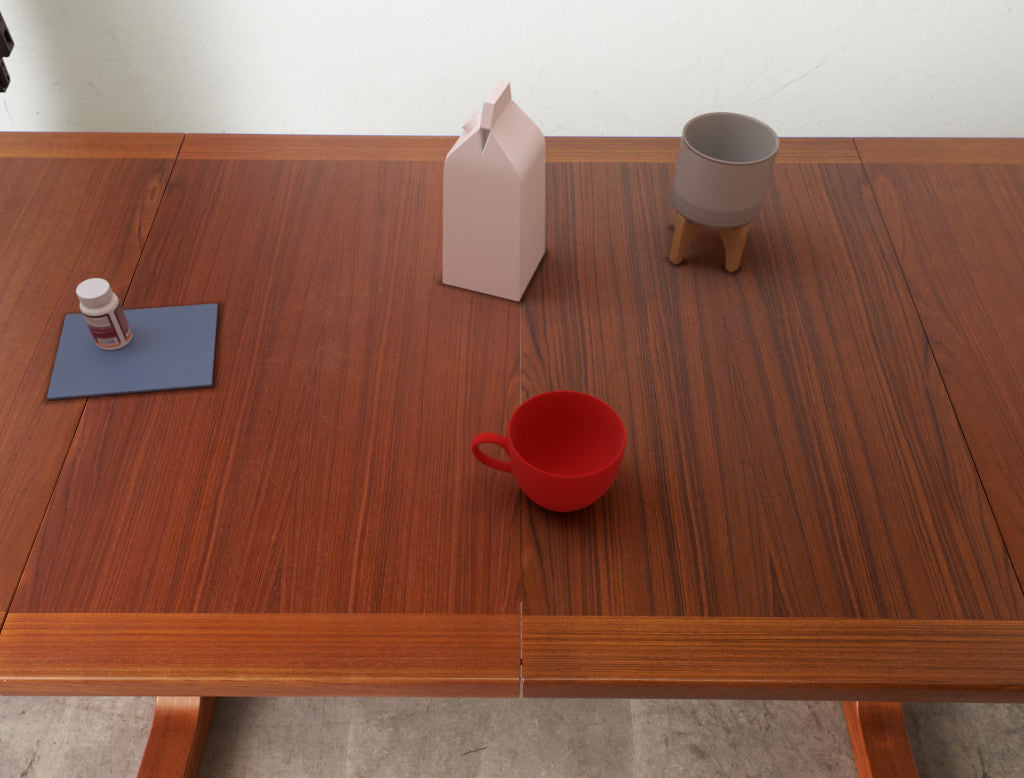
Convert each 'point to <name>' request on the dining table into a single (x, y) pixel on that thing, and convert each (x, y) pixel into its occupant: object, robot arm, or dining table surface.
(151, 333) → the cloth
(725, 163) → the planter
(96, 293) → the pill bottle
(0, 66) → the robot arm
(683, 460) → the dining table surface
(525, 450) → the ceramic cup
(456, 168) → the milk
